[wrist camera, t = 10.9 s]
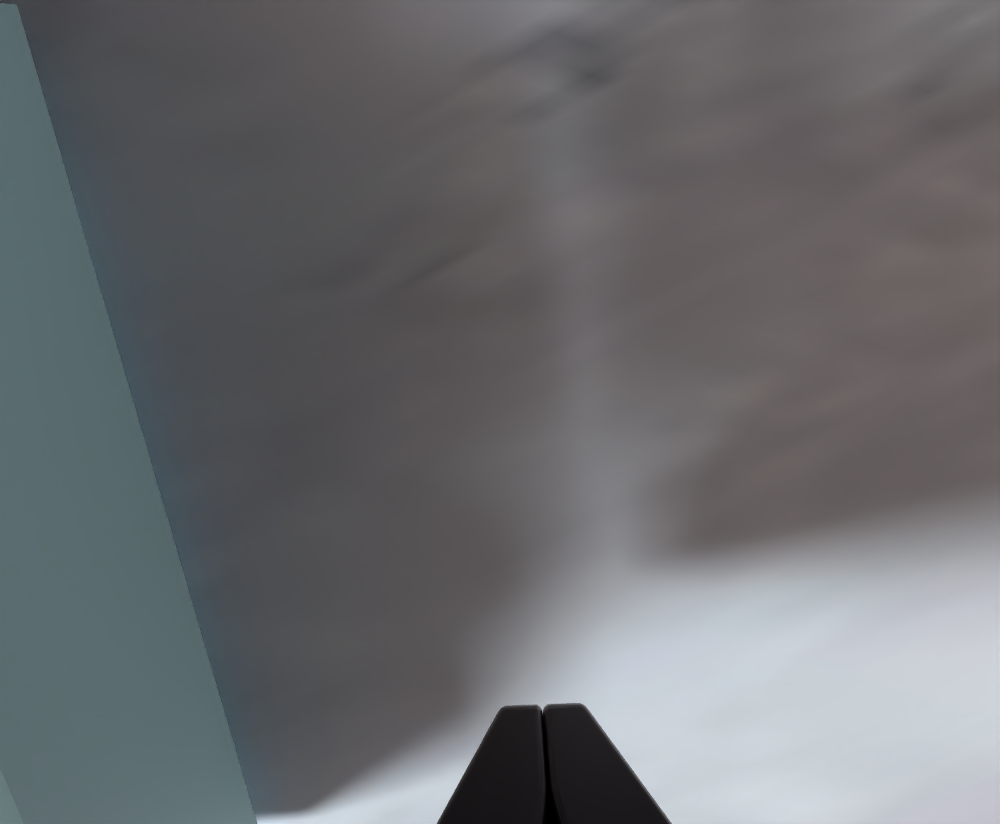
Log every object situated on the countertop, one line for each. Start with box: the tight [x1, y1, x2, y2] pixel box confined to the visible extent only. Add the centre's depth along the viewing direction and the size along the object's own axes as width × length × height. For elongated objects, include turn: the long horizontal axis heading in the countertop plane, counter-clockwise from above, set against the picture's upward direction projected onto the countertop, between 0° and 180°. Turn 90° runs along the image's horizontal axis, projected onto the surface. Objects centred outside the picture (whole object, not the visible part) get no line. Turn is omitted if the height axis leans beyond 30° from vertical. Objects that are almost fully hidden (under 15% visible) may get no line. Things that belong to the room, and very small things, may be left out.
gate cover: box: [0, 3, 257, 824], centre depth 8 cm, size 10×2×5 cm, turn 7°
